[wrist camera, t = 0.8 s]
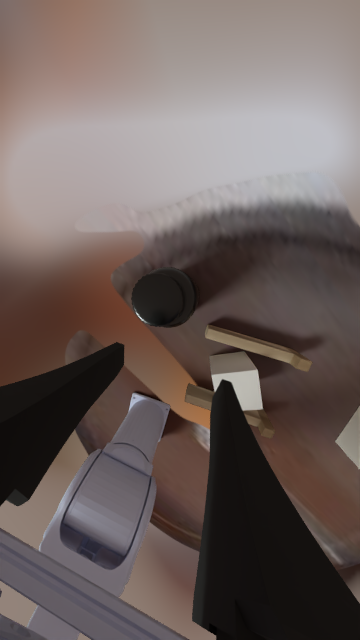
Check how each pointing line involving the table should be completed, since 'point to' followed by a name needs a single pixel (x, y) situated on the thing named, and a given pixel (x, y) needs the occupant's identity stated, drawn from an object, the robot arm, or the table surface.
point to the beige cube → (238, 377)
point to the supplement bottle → (165, 297)
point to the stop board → (351, 438)
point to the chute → (255, 345)
